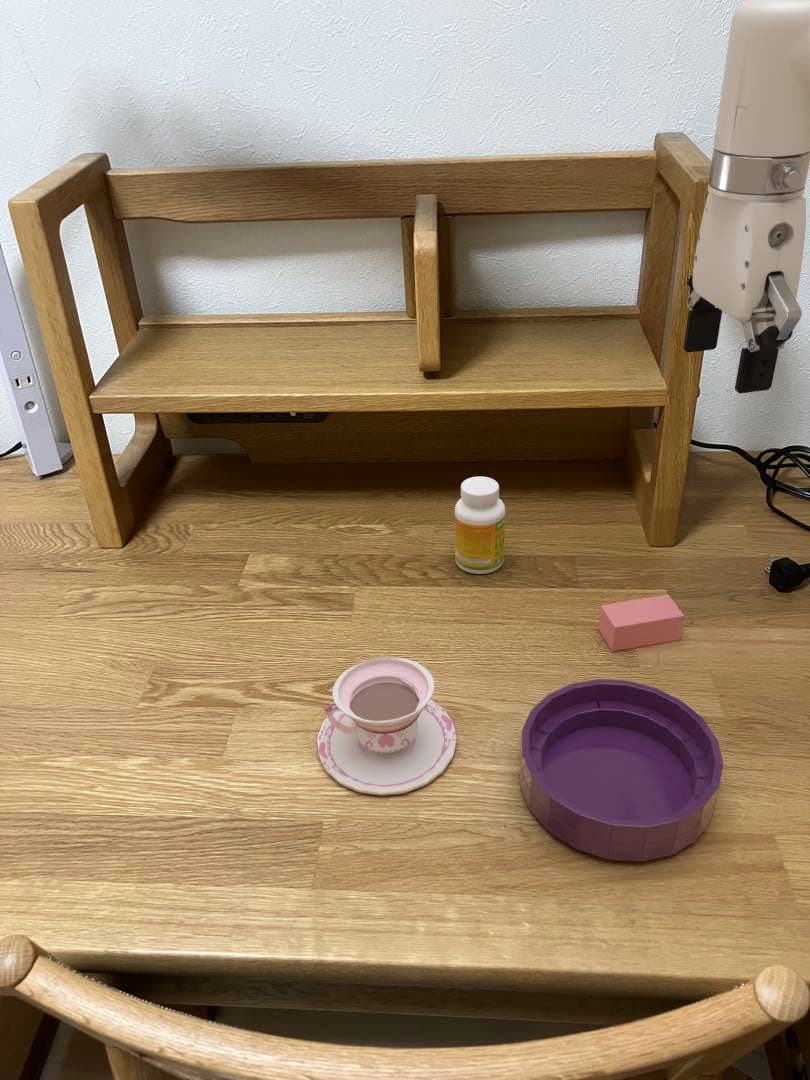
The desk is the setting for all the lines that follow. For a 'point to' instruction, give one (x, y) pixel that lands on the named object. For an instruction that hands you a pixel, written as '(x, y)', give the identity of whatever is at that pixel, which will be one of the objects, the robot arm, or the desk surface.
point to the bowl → (620, 769)
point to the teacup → (385, 728)
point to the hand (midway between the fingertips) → (724, 369)
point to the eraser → (640, 622)
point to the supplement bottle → (479, 526)
